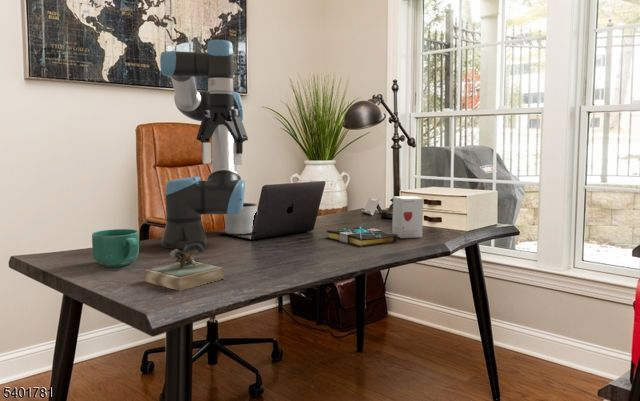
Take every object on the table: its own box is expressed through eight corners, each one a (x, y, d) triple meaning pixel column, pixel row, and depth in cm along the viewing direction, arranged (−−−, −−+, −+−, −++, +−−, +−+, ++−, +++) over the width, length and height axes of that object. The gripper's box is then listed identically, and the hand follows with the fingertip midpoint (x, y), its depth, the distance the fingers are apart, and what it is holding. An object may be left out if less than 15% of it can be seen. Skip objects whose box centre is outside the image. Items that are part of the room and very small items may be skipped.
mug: (86, 264, 155) (84, 231, 154) (127, 257, 164) (126, 227, 163) (110, 274, 144) (108, 239, 142) (153, 267, 152) (152, 234, 151)
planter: (221, 231, 212) (220, 203, 211) (251, 229, 218) (250, 202, 217) (230, 236, 201) (230, 207, 200) (262, 234, 207) (262, 205, 206)
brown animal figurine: (201, 266, 135) (213, 252, 143) (184, 243, 134) (197, 230, 142) (179, 280, 137) (192, 265, 145) (162, 257, 136) (176, 244, 144)
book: (398, 243, 192) (398, 229, 191) (361, 248, 182) (361, 234, 182) (360, 234, 210) (360, 222, 209) (325, 239, 200) (325, 225, 200)
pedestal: (144, 281, 136) (144, 269, 136) (189, 271, 147) (188, 259, 147) (179, 291, 128) (179, 277, 128) (223, 279, 139) (223, 267, 139)
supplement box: (400, 238, 199) (401, 198, 198) (391, 234, 208) (392, 196, 206) (423, 237, 201) (424, 198, 200) (413, 233, 210) (414, 195, 209)
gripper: (184, 94, 166) (185, 163, 168) (240, 90, 150) (241, 166, 153) (203, 96, 171) (204, 162, 174) (259, 92, 156) (259, 165, 159)
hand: (221, 164), depth 163 cm, fingers open, 13 cm apart
